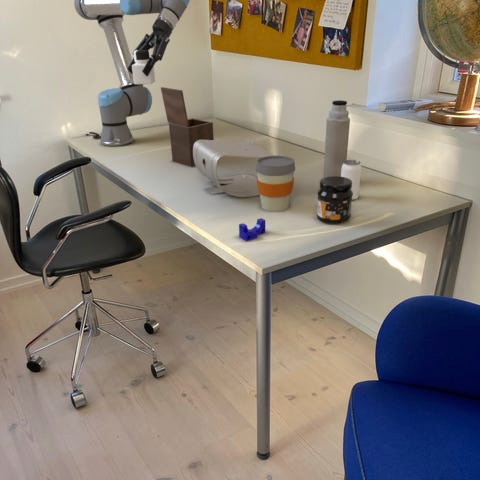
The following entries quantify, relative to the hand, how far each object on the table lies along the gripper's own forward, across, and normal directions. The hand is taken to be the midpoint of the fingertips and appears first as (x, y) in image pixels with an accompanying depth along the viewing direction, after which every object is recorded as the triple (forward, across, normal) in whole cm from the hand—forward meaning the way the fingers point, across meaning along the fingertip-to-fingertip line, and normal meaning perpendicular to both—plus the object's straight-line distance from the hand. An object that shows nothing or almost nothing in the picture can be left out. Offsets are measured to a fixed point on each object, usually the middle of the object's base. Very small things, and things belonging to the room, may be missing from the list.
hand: (137, 72), depth 207 cm
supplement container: (+25, -102, -22) cm, 108 cm away
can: (+12, -94, -36) cm, 102 cm away
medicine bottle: (+1, 0, -5) cm, 5 cm away
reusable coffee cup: (+28, -81, -20) cm, 88 cm away
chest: (+16, -18, -32) cm, 40 cm away
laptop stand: (+25, -57, -23) cm, 66 cm away
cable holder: (+44, -93, -4) cm, 103 cm away
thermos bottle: (+5, -80, -43) cm, 91 cm away
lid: (+5, -18, -11) cm, 22 cm away
